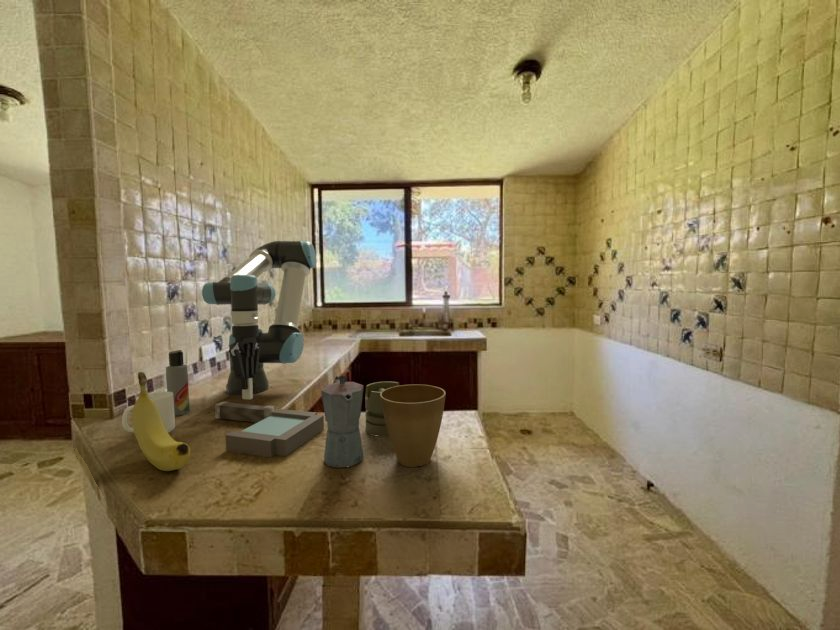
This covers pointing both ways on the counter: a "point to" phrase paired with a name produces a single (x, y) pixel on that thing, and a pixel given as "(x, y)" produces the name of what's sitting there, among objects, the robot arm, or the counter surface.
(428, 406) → the plant pot
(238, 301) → the robot arm
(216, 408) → the folding leg
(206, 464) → the counter surface
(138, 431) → the banana
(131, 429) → the cup
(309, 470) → the counter surface
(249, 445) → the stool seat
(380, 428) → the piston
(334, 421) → the moka pot
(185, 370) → the lotion bottle
